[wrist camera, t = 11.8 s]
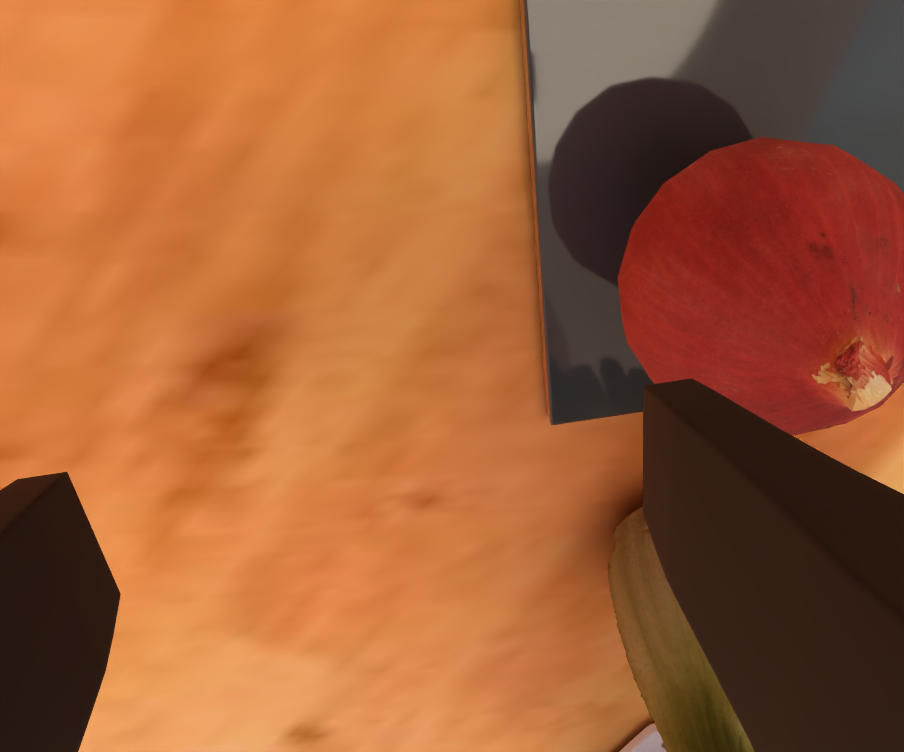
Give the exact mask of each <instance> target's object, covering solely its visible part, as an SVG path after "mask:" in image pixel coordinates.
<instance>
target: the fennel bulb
mask: <svg viewBox="0 0 904 752" xmlns="http://www.w3.org/2000/svg"><path fill="white" fill-rule="evenodd" d="M608 577H609V583H610V592H611V597H612V600H613V607H614V612H615V613H616V619H617V627H618V630H619V633H620V635H621V639H622V642H623V645H624V648H625V651H626V656H627V659H628V662H629V665H630V667H631V670H632V673H633V676H634V680H635V681H636V683H637V685H638V688H639V690H640V692H641V697H642V698H643V699H644V701H645V704H646V706H647V709H648V711H649V714H650V716H651V717H652V719H653V720H654V721H655V725H656V728H657V731H658V733H659V734H660V736H661V738H662V741H663V743H664V748H665V750H666V752H754V749H753V747H752V745H751V743H750V741H749V739H748V737H747V735H746V733H745V731H744V729H743V727H742V725H741V723H740V721H739V719H738V717H737V716H736V714H735V712H734V710H733V708H732V706H731V704H730V702H729V700H728V698H727V696H726V694H725V692H724V691H723V689H722V687H721V685H720V683H719V681H718V679H717V677H716V675H715V673H714V671H713V669H712V667H711V666H710V664H709V662H708V660H707V658H706V656H705V654H704V652H703V650H702V648H701V646H700V644H699V642H698V641H697V639H696V637H695V635H694V633H693V631H692V629H691V627H690V625H689V623H688V621H687V619H686V617H685V615H684V613H683V611H682V609H681V607H680V605H679V603H678V601H677V600H676V598H675V596H674V594H673V592H672V590H671V588H670V585H669V583H668V581H667V579H666V576H665V574H664V571H663V568H662V566H661V563H660V560H659V558H658V555H657V552H656V549H655V547H654V544H653V541H652V538H651V535H650V532H649V529H648V526H647V524H646V521H645V518H644V515H643V505H642V506H641V507H640V508H639V509H637V510H635V511H634V512H632V513H631V514H630V515H628V516H627V517H626V518H625V520H624V521H622V522H621V523H620V524H619V525H618V527H617V528H616V529H615V531H614V533H613V537H612V551H611V555H610V559H609V562H608Z"/></svg>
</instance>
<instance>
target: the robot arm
mask: <svg viewBox="0 0 904 752" xmlns="http://www.w3.org/2000/svg"><path fill="white" fill-rule="evenodd" d="M643 515H644V518H645V521H646V524H647V526H648V529H649V532H650V535H651V538H652V541H653V544H654V547H655V549H656V552H657V555H658V558H659V560H660V563H661V566H662V568H663V571H664V574H665V576H666V579H667V581H668V583H669V585H670V588H671V590H672V592H673V594H674V596H675V598H676V600H677V601H678V603H679V605H680V607H681V609H682V611H683V613H684V615H685V617H686V619H687V621H688V623H689V625H690V627H691V629H692V631H693V633H694V635H695V637H696V639H697V641H698V642H699V644H700V646H701V648H702V650H703V652H704V654H705V656H706V658H707V660H708V662H709V664H710V666H711V667H712V669H713V671H714V673H715V675H716V677H717V679H718V681H719V683H720V685H721V687H722V689H723V691H724V692H725V694H726V696H727V698H728V700H729V702H730V704H731V706H732V708H733V710H734V712H735V714H736V716H737V717H738V719H739V721H740V723H741V725H742V727H743V729H744V731H745V733H746V735H747V737H748V739H749V741H750V743H751V745H752V747H753V749H754V752H904V494H902V493H900V492H898V491H896V490H894V489H892V488H890V487H888V486H886V485H884V484H882V483H880V482H878V481H876V480H874V479H872V478H870V477H868V476H866V475H863V474H861V473H859V472H858V471H856V470H854V469H852V468H850V467H848V466H846V465H844V464H842V463H841V462H839V461H837V460H835V459H833V458H831V457H829V456H827V455H826V454H824V453H822V452H820V451H818V450H816V449H815V448H813V447H811V446H809V445H808V444H806V443H804V442H802V441H800V440H799V439H797V438H795V437H793V436H792V435H790V434H788V433H786V432H785V431H783V430H781V429H779V428H778V427H776V426H774V425H772V424H771V423H769V422H767V421H766V420H764V419H762V418H761V417H759V416H757V415H755V414H754V413H752V412H750V411H749V410H747V409H745V408H744V407H742V406H740V405H738V404H737V403H735V402H733V401H732V400H730V399H728V398H727V397H725V396H723V395H721V394H720V393H718V392H716V391H714V390H713V389H711V388H709V387H707V386H705V385H704V384H702V383H700V382H698V381H696V380H694V379H692V378H691V379H684V380H677V381H671V382H664V383H657V384H651V385H644V410H643ZM119 600H120V592H119V589H118V587H117V585H116V582H115V580H114V578H113V576H112V573H111V571H110V569H109V566H108V564H107V562H106V560H105V557H104V555H103V553H102V550H101V548H100V546H99V544H98V541H97V539H96V537H95V534H94V532H93V530H92V528H91V525H90V523H89V521H88V518H87V516H86V514H85V512H84V509H83V507H82V505H81V502H80V500H79V498H78V496H77V493H76V491H75V489H74V486H73V484H72V482H71V480H70V477H69V475H68V473H67V472H63V473H56V474H50V475H43V476H36V477H30V478H23V479H17V480H16V481H14V482H13V483H11V484H9V485H8V486H6V487H5V488H3V489H2V490H0V752H78V750H79V748H80V745H81V742H82V739H83V736H84V733H85V730H86V728H87V725H88V722H89V719H90V716H91V713H92V710H93V707H94V704H95V701H96V698H97V695H98V692H99V689H100V686H101V683H102V680H103V677H104V674H105V671H106V667H107V662H108V657H109V653H110V648H111V643H112V639H113V634H114V628H115V623H116V617H117V611H118V605H119ZM619 752H666V750H665V748H664V743H663V741H662V738H661V736H660V734H659V733H658V731H657V728H656V725H655V723H653V724H650V725H649V726H647V727H646V728H645V729H644V730H642V731H641V732H640V733H639V734H638V735H637V736H636V737H635V738H634V739H632V740H631V741H630V742H629V743H628V744H627V745H626V746H625V747H624V748H623V749H621V750H620V751H619Z"/></svg>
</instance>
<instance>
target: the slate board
mask: <svg viewBox="0 0 904 752" xmlns="http://www.w3.org/2000/svg"><path fill="white" fill-rule="evenodd" d="M520 15H521V30H522V45H523V60H524V76H525V91H526V106H527V121H528V137H529V152H530V167H531V182H532V197H533V213H534V228H535V243H536V258H537V274H538V289H539V304H540V319H541V335H542V350H543V365H544V380H545V396H546V411H547V416H548V419H549V422H550V424H551V425H558V424H564V423H571V422H578V421H584V420H591V419H598V418H604V417H611V416H618V415H624V414H631V413H637V412H643V410H644V385H651V384H654V383H653V382H652V380H651V379H650V378H649V376H648V374H647V373H646V371H645V370H644V368H643V367H642V365H641V363H640V362H639V360H638V359H637V357H636V356H635V354H634V352H633V351H632V349H631V348H630V346H629V345H628V343H627V340H626V336H625V332H624V327H623V323H622V317H621V307H620V297H619V287H618V274H619V271H620V267H621V264H622V260H623V257H624V253H625V250H626V246H627V243H628V239H629V236H630V232H631V229H632V227H633V225H634V223H635V221H636V220H637V218H638V217H639V216H640V215H641V213H642V212H643V211H644V209H645V208H646V207H647V205H648V204H649V203H650V201H651V200H652V199H653V197H654V196H655V195H656V193H657V192H658V191H659V189H660V188H661V186H662V185H663V183H665V182H666V181H668V180H669V179H671V178H672V177H673V176H675V175H676V174H678V173H679V172H681V171H682V170H684V169H685V168H686V167H688V166H689V165H691V164H692V163H694V162H695V161H697V160H698V159H699V158H701V157H702V156H704V155H705V154H707V153H708V152H710V151H712V150H716V149H719V148H723V147H726V146H730V145H734V144H737V143H741V142H744V141H748V140H752V139H755V138H759V137H767V138H774V139H781V140H790V141H800V142H809V143H818V144H827V145H835V146H836V147H838V148H840V149H842V150H844V151H846V152H847V153H849V154H851V155H853V156H855V157H856V158H858V159H859V160H861V161H862V162H864V163H865V164H867V165H868V166H870V167H871V168H873V169H874V170H876V171H877V172H879V173H881V174H882V175H884V176H885V177H887V178H888V179H890V180H891V181H893V182H894V183H896V184H897V186H898V187H899V188H900V189H901V191H902V192H903V193H904V0H520Z"/></svg>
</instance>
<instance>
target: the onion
mask: <svg viewBox="0 0 904 752" xmlns="http://www.w3.org/2000/svg"><path fill="white" fill-rule="evenodd" d="M618 287H619V297H620V307H621V317H622V323H623V327H624V332H625V336H626V340H627V343H628V345H629V346H630V348H631V349H632V351H633V352H634V354H635V356H636V357H637V359H638V360H639V362H640V363H641V365H642V367H643V368H644V370H645V371H646V373H647V374H648V376H649V378H650V379H651V380H652V382H653V383H654V384H657V383H664V382H671V381H677V380H684V379H691V378H692V379H694V380H696V381H698V382H700V383H702V384H704V385H705V386H707V387H709V388H711V389H713V390H714V391H716V392H718V393H720V394H721V395H723V396H725V397H727V398H728V399H730V400H732V401H733V402H735V403H737V404H738V405H740V406H742V407H744V408H745V409H747V410H749V411H750V412H752V413H754V414H755V415H757V416H759V417H761V418H762V419H764V420H766V421H767V422H769V423H771V424H772V425H774V426H776V427H778V428H779V429H781V430H783V431H785V432H786V433H788V434H790V435H799V434H802V433H806V432H810V431H815V430H820V429H825V428H830V427H832V426H835V425H840V424H845V423H847V422H849V421H851V420H853V419H855V418H857V417H860V416H862V415H864V414H866V413H868V412H870V411H872V410H874V409H876V408H878V407H880V406H881V405H882V404H883V403H884V402H885V401H886V400H887V399H888V398H889V397H890V396H891V395H892V394H893V393H894V392H895V391H896V390H897V389H898V388H899V386H900V385H901V384H902V383H903V382H904V193H903V192H902V191H901V189H900V188H899V187H898V186H897V184H896V183H894V182H893V181H891V180H890V179H888V178H887V177H885V176H884V175H882V174H881V173H879V172H877V171H876V170H874V169H873V168H871V167H870V166H868V165H867V164H865V163H864V162H862V161H861V160H859V159H858V158H856V157H855V156H853V155H851V154H849V153H847V152H846V151H844V150H842V149H840V148H838V147H836V146H835V145H827V144H818V143H809V142H800V141H790V140H781V139H774V138H767V137H759V138H755V139H752V140H748V141H744V142H741V143H737V144H734V145H730V146H726V147H723V148H719V149H716V150H712V151H710V152H708V153H707V154H705V155H704V156H702V157H701V158H699V159H698V160H697V161H695V162H694V163H692V164H691V165H689V166H688V167H686V168H685V169H684V170H682V171H681V172H679V173H678V174H676V175H675V176H673V177H672V178H671V179H669V180H668V181H666V182H665V183H663V185H662V186H661V188H660V189H659V191H658V192H657V193H656V195H655V196H654V197H653V199H652V200H651V201H650V203H649V204H648V205H647V207H646V208H645V209H644V211H643V212H642V213H641V215H640V216H639V217H638V218H637V220H636V221H635V223H634V225H633V227H632V229H631V232H630V236H629V239H628V243H627V246H626V250H625V253H624V257H623V260H622V264H621V267H620V271H619V274H618Z"/></svg>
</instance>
